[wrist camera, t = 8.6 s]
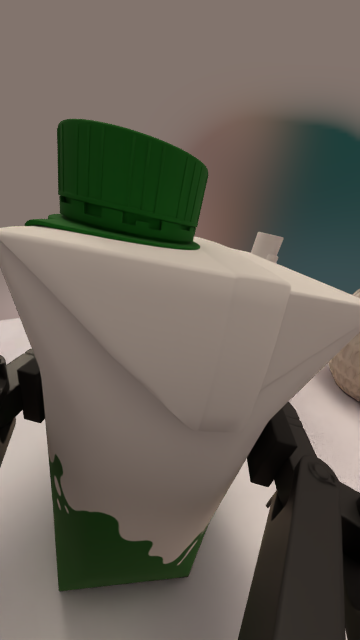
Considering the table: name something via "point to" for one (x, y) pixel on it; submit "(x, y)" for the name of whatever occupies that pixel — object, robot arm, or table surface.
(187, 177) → the soya milk
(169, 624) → the table surface
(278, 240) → the vase
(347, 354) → the vase
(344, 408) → the table surface
